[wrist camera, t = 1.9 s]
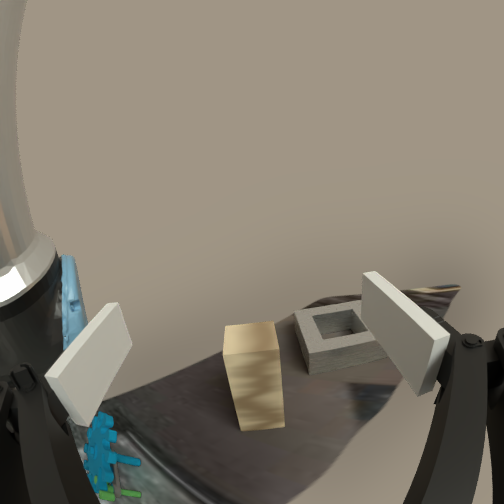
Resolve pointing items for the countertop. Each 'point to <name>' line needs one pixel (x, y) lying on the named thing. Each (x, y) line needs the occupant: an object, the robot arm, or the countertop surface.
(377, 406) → the countertop surface
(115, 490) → the blue lumpy piece
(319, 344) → the grey square frame block
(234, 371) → the upright pine post
